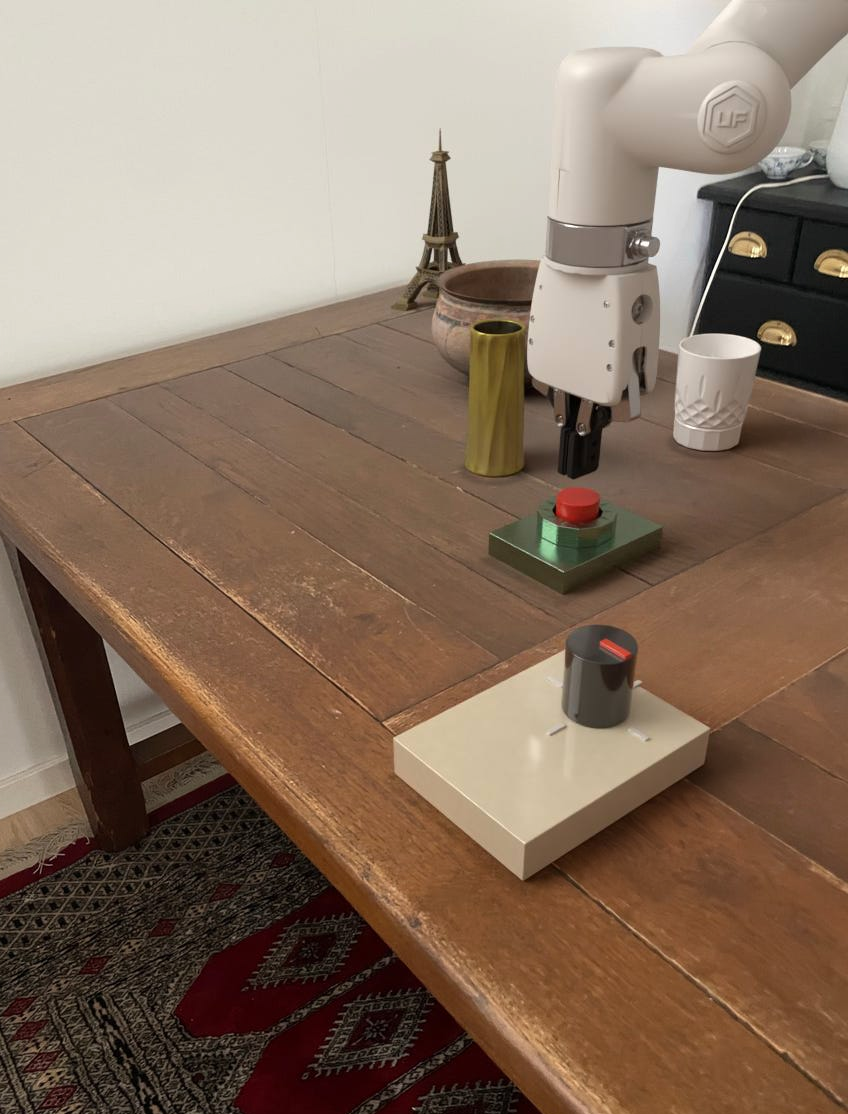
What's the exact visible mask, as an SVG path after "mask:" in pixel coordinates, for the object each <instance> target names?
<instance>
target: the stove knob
mask: <svg viewBox="0 0 848 1114" xmlns="http://www.w3.org/2000/svg"><path fill="white" fill-rule="evenodd" d="M564 648H565V649H564V650H565V660H564V673H563V686H562V699H561V707H562V710H563V712H564V713H565V715H566V716H567V717H568V718H569V719H571V720H572V721H574V722H576V723H578V724H580V725H583V726H587V727H593V728H607V727H612V726H616V725H618V724H620V723H622V722H623V721H625V720H626V719H627V717H628V716H629V714H630V710H631V702H632V694H633V686H634V682H635V677H636V668H637V662H638V655H639V653H638V652H639V644H638V641H637V639H636V638H635V637H634V636H633V635H632V634H631V633H629V632H627V631H626V630H624V629H622V628H620V627H616V626H614V625H607V624H589V625H584V626H580V627H578V628H575V629H574V630H572V631H571V632H570V633H569V634H568V636H567V637H566V639H565V647H564Z"/></svg>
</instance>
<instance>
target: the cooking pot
mask: <svg viewBox="0 0 848 1114" xmlns="http://www.w3.org/2000/svg"><path fill="white" fill-rule="evenodd" d="M540 262H541V259H540V260H538V259H519V258H518V259H495V260H485V261H478V262H471V263H466V264H465V265H462V266H459V267H456V268H452V269H450V270H448V271H446V272H444V273H443V274H441V275H440V276H439V278H438V281H437V282H438V284H439V286H440V288H442V290H441V293H440V295H439V297H438V298H437V300H436V303H435V307H434V310H433V314H432V320H431V336H432V340H433V342H434V345H435V347H436V350H437V351H438V354H439V355H440V357H441V358H442V359H443V360H444V361H445V362H446V363H447V364H448V365H449V366H450V367H452V369H454V370H456V371H457V372H460V373H461V374H463V375H464V376H467V377H468V378H470V330H471V326H472V325H473V324H474V323H476V322H478V321H482V320H487V319H511V320H515V321H519V322H521V323H523V324H524V325H525V327H526V335H525V360H524V390H526V389H529V388H531V387H533V385H532V378H533V376H532V375H531V374H530V373H529V370H528V364H527V343H528V330H529V321H530V312H531V305H532V298H533V293H534V287H535V282H536V278H537V273H538V269H539V265H540Z"/></svg>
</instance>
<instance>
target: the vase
mask: <svg viewBox="0 0 848 1114" xmlns="http://www.w3.org/2000/svg"><path fill="white" fill-rule="evenodd" d="M525 335H526V327H525V325H524V324H523V323H521V322H519V321H515V320H511V319H487V320H482V321H478V322H476V323H474V324H473V325H472V326H471V330H470V377H469V381H468V382H469V383H468V384H469V385H468V421H467V422H468V423H467V424H468V425H467V437H466V450H465V457H464V467H465V468H466V469H467V470H468V471H469V472H471V473H473V474H474V475H477V476H482V477H487V478H501V477H507V476H511V475H515V474H517V473H518V472H520V471H521V470H522V469H523V468H524V466H525V456H524V430H525V429H524V428H525V426H524V425H525V389H524V360H525Z"/></svg>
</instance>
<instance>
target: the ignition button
mask: <svg viewBox="0 0 848 1114" xmlns="http://www.w3.org/2000/svg"><path fill="white" fill-rule="evenodd" d="M556 496H557V501H556V516H557V517H558V518H561V519H563V520H565V521H571V522H588V521H593V520H595V519H597V518H598V516H599V505H600V498H601V495H600V494H599V493H598V492H596V491H595V490H593V489H591V488H588V487H587V488H585V487H580V486H579V487H578V486H576V487H567V488H564V489H562V490H560V491H558V493H557V494H556Z"/></svg>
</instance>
